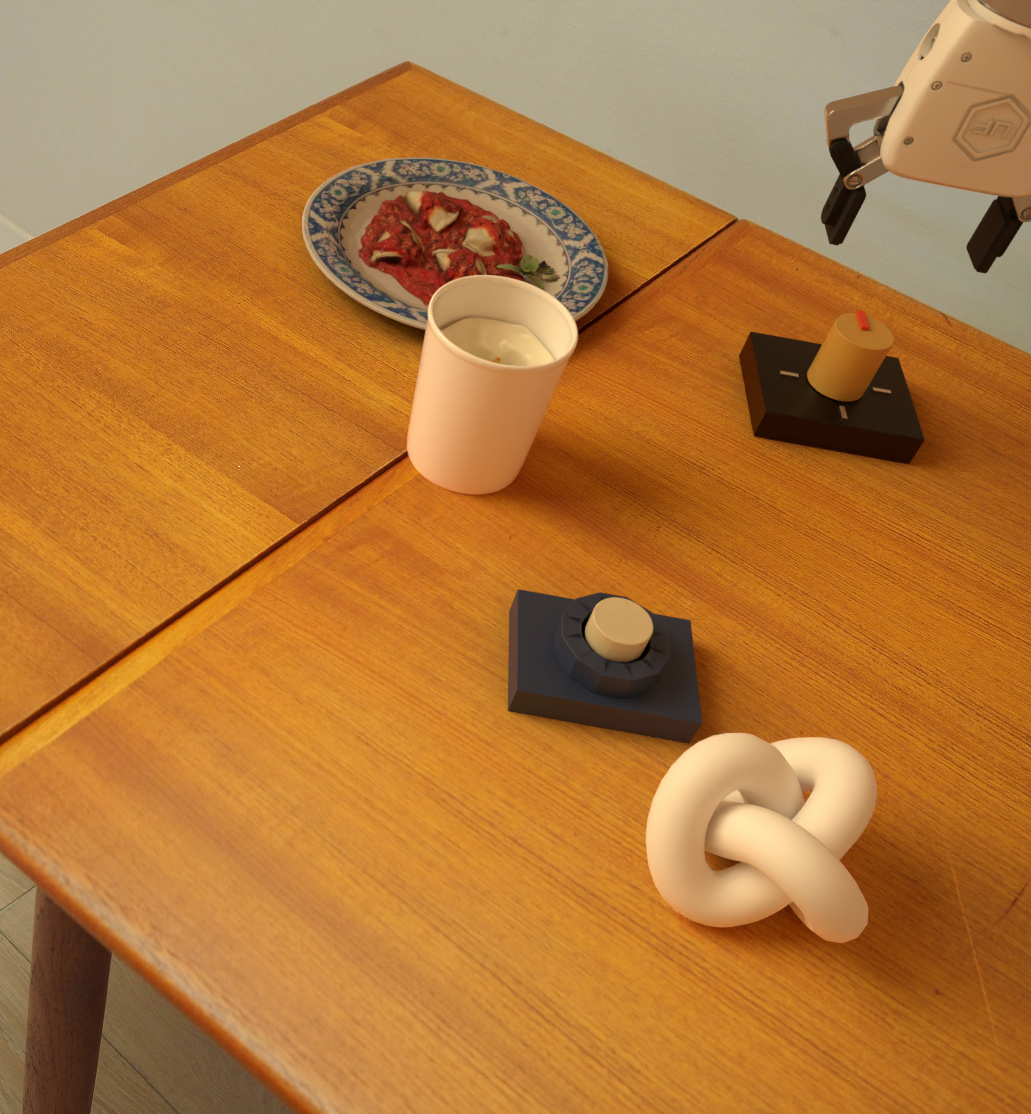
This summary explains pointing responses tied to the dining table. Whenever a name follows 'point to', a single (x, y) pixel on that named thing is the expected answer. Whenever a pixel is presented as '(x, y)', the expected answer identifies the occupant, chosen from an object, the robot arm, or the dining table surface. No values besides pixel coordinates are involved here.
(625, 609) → the bell button
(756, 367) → the black dial base
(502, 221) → the ceramic plate
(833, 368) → the lock knob
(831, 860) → the white knot sculpture
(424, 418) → the candle holder
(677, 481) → the dining table surface
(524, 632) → the push button box
